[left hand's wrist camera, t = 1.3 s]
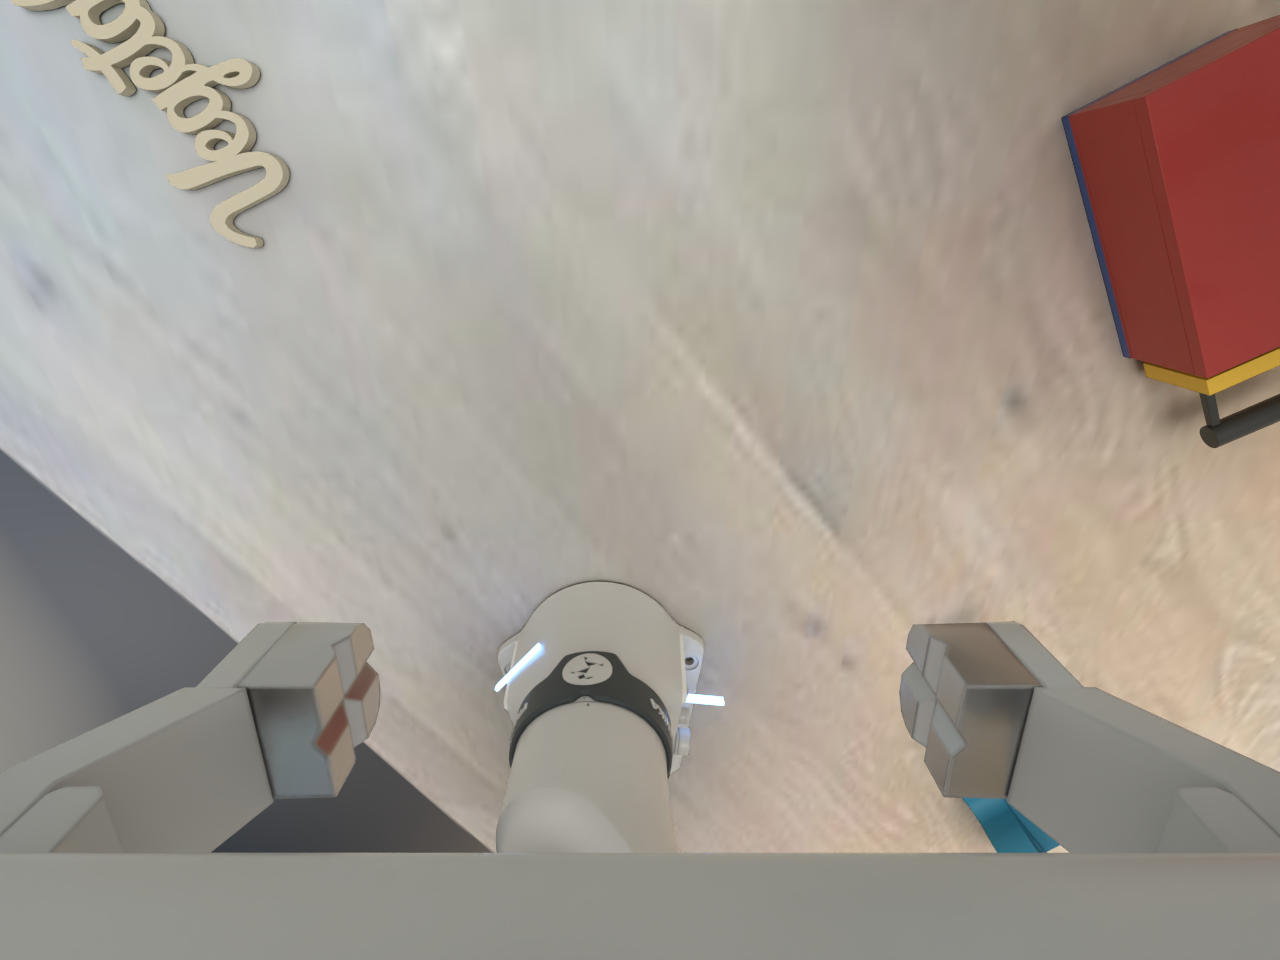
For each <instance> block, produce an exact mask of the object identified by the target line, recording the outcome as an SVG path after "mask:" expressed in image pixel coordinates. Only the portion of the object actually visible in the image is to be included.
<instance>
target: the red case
mask: <svg viewBox="0 0 1280 960" xmlns="http://www.w3.org/2000/svg"><path fill="white" fill-rule="evenodd" d="M1062 121H1063V125H1064V129H1065V133H1066V137H1067V140H1068V144H1069V148H1070V152H1071V156H1072V160H1073V163H1074V167H1075V171H1076V175H1077V179H1078V183H1079V187H1080V190H1081V194H1082V198H1083V202H1084V206H1085V210H1086V213H1087V217H1088V221H1089V225H1090V229H1091V233H1092V237H1093V240H1094V244H1095V248H1096V252H1097V256H1098V260H1099V263H1100V267H1101V271H1102V275H1103V279H1104V283H1105V286H1106V290H1107V294H1108V298H1109V302H1110V306H1111V310H1112V313H1113V317H1114V321H1115V325H1116V329H1117V333H1118V336H1119V340H1120V344H1121V348H1122V352H1123V356H1124V357H1128V358H1134V359H1137V360H1141V361H1144V362H1148V363H1152V364H1156V365H1159V366H1163V367H1167V368H1171V369H1174V370H1178V371H1182V372H1186V373H1189V374H1193V375H1196V376H1200V377H1204V378H1209V377H1211V376H1214V375H1216V374H1218V373H1221V372H1223V371H1225V370H1227V369H1230V368H1232V367H1234V366H1236V365H1239V364H1241V363H1243V362H1246V361H1248V360H1250V359H1252V358H1255V357H1257V356H1259V355H1261V354H1264V353H1266V352H1268V351H1271V350H1273V349H1275V348H1277V347H1280V15H1278V16H1275V17H1272V18H1269V19H1266V20H1263V21H1260V22H1257V23H1254V24H1251V25H1248V26H1245V27H1242V28H1239V29H1235V30H1232V31H1229V32H1226V33H1224V34H1222V35H1221V36H1219V37H1217V38H1215V39H1213V40H1211V41H1209V42H1207V43H1205V44H1203V45H1201V46H1199V47H1197V48H1195V49H1194V50H1192V51H1190V52H1188V53H1186V54H1184V55H1182V56H1180V57H1178V58H1176V59H1174V60H1172V61H1170V62H1168V63H1166V64H1165V65H1163V66H1161V67H1159V68H1157V69H1155V70H1153V71H1151V72H1149V73H1147V74H1145V75H1143V76H1141V77H1139V78H1138V79H1136V80H1134V81H1132V82H1130V83H1128V84H1126V85H1124V86H1122V87H1120V88H1118V89H1116V90H1114V91H1112V92H1110V93H1109V94H1107V95H1105V96H1103V97H1101V98H1099V99H1097V100H1095V101H1093V102H1091V103H1089V104H1087V105H1085V106H1083V107H1081V108H1080V109H1078V110H1076V111H1074V112H1072V113H1070V114H1068V115H1066V116H1064V117H1062Z"/></svg>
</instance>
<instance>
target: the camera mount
mask: <svg viewBox="0 0 1280 960" xmlns="http://www.w3.org/2000/svg"><path fill="white" fill-rule="evenodd" d="M962 799H963V800H964V801H965V802H966V803H967V805H968V806H969V807H970V809H971V810H972V811H973V813H974V814H975V816H976V817H977V819H978V820H979V822H980V824H981V825H982V827H983V829H984V831H985V832H986V834H987V836H988V838H989V839H990V841H991V843H992V845H993V846H994V848H995V850H996V851H997V853H1046V852H1047V851H1049V850H1051V849H1053V848H1055V847H1057V846H1059V845H1060V844H1058V843H1057V842H1056V841H1055V840H1053V839H1052V838H1051V837H1050V836H1048V835H1047V834H1046V833H1045V832H1043V831H1042V830H1041V829H1040V828H1039V827H1037V826H1036V825H1035V824H1034V823H1032V822H1031V821H1030V820H1029V819H1027V818H1026V817H1025V816H1024V815H1022V814H1021V813H1020V812H1019V811H1017V810H1016V809H1015V808H1014V807H1012V806H1011V805H1010V804H1009V803H1007V802H1006V801H1007V799H991V798H962Z"/></svg>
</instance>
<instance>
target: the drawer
mask: <svg viewBox="0 0 1280 960" xmlns="http://www.w3.org/2000/svg"><path fill="white" fill-rule="evenodd" d="M1143 365H1144V369H1145V373H1146V377H1149V378H1152V379H1155V380H1159V381H1162V382H1165V383H1169V384H1172V385H1176V386H1179V387H1182V388H1186V389H1189V390H1192V391H1196V392H1199V393H1200V397H1201V402H1202V406H1203V411H1204V415H1205V419H1206V424H1207V425H1206V426H1204V427H1202V428H1201V429H1200V435H1201V438H1202V440H1203V441H1204V442H1205V443H1206V444H1207V445H1208V446H1210V447H1212V448H1217V447H1219V446H1222V445H1224V444H1227V443H1229V442H1231V441H1234V440H1236V439H1238V438H1241V437H1243V436H1245V435H1248V434H1250V433H1253V432H1255V431H1257V430H1260V429H1262V428H1264V427H1267V426H1269V425H1271V424H1274V423H1276V422H1279V421H1280V394H1278V395H1276V396H1274V397H1271V398H1269V399H1267V400H1264V401H1262V402H1260V403H1257V404H1255V405H1253V406H1250V407H1248V408H1246V409H1243V410H1241V411H1239V412H1236V413H1234V414H1232V415H1229V416H1227V417H1225V418H1222V419H1219V414H1218V409H1217V405H1216V400H1215V396H1214V394H1215V393H1217V392H1219V391H1222V390H1224V389H1226V388H1229V387H1231V386H1233V385H1235V384H1238V383H1240V382H1242V381H1245V380H1247V379H1249V378H1251V377H1254V376H1256V375H1258V374H1261V373H1263V372H1265V371H1268V370H1270V369H1272V368H1274V367H1277V366H1279V365H1280V347H1277V348H1275V349H1273V350H1271V351H1268V352H1266V353H1264V354H1261V355H1259V356H1257V357H1255V358H1252V359H1250V360H1248V361H1246V362H1243V363H1241V364H1239V365H1236V366H1234V367H1232V368H1230V369H1227V370H1225V371H1223V372H1221V373H1218V374H1216V375H1214V376H1211V377H1209V378H1204V377H1200V376H1196V375H1193V374H1189V373H1186V372H1182V371H1178V370H1174V369H1171V368H1167V367H1163V366H1159V365H1156V364H1152V363H1148V362H1145V363H1143Z"/></svg>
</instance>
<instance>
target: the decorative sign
mask: <svg viewBox="0 0 1280 960" xmlns="http://www.w3.org/2000/svg"><path fill="white" fill-rule="evenodd" d="M10 1H11V2H12V3H13V4H15V5H17V6H20V7H23V8H25V9H28V10H32V11H43V10H51V9H55V8H59V7H62V6H65V5H67V4H69V5H67V6H66V9H67V11H68V12H69V13H70V14H71V15H72V16H75V17H78V18H80V21H81V25H82V27H83V29H84V30H85V32H86V33H87V34H88V35H90V36H91V37H93V38H96V39H99V40H102V41H105V42H108V43H118V42H122V41H124V40H126V39H128V38H130V37H131V36H132V37H131V38H130V39H129V40H127V41H125V42H124V43H122V44H120V45H118V46H117V47H115V48H113V49H111V50H110V51H108V52H106V53H104V52H103V51H101V50H100V49H98V48H96V47H94V46H92V45H89V44H86V43H83V42H80V41H77V40H72V42H71V44H72V45H73V46H75V47H77V48H78V49H80V50H81V51H82V52H84V53H85V54H86V55H87V56H88V57H87V58H82V63H83V65H84V67H85V69H86V70H89V71H92V72H96V73H101V74H104V75H105V76H106V78H107V79H108V80H109V82H110V83H111V85H112V86H113V88H114V89H115V91H116V92H117V94H119V95H123V96H127V97H129V96H131V95H132V94H134V92H135V91H136V89H135V87H134V85H133V84H132V82H133V83H134V84H135V85H136V86H138V87H139V88H142V89H145V90H149V91H152V92H157V93H161V94H159V95H158V96H156V97H155V98H154V99H152V101H153V102H154V103H155V104H156V105H157V107H158V108H159V109H160V110H163V111H167V116H168V119H169V122H170V124H171V125H172V126H173V127H174V128H175V129H176V130H178V131H180V132H183V133H188V134H198V135H197V136H196V139H195V149H196V152H197V154H198V155H199V156H200V157H201V158H203V159H206V160H209V161H215V162H212V163H209V164H205V165H202V166H198V167H195V168H192V169H189V170H186V171H183V172H180V173H176V174H167V178H168V180H169V182H170V183H171V184H172V185H173V186H174V187H176V188H178V189H184V190H197V189H200V188H203V187H206V186H208V185H211V184H213V183H216V182H218V181H220V180H223V179H225V178H228V177H231V176H234V175H237V174H240V173H243V172H247V171H251V170H254V169H258V168H262V167H264V168H265V169H266V176H265V178H264V179H263V180H261V181H260V182H259V183H257V184H256V185H254V186H253V187H251V188H249V189H247V190H245V191H243V192H241V193H239V194H237V195H235V196H233V197H231V198H229V199H227V200H226V201H224V202H222V203H220V204H219V205H217V206H216V207H215V208H214V210H213V211H212V213H211V223H212V226H213V227H214V229H215V230H216V231H217V232H219V233H220V234H221V235H222V236H224V237H225V238H227V239H229V240H230V241H232V242H234V243H237V244H239V245H242V246H246V247H251V248H257V247H262V246H263V240H262V239H261V238H259V237H256V236H252V235H249V234H246V233H243V232H241V231H239V230H238V229H237V228H236V227H235V226H234V224H233V220H234V218H235V217H236V216H237V215H238V214H239V213H241V212H243V211H245V210H247V209H249V208H251V207H253V206H255V205H257V204H259V203H261V202H263V201H265V200H266V199H268V198H270V197H272V196H274V195H276V194H277V193H279V192H280V191H281V190H283V189H284V187H285V186H286V185H287V183H288V180H289V169H288V167H287V165H286V164H285V162H284V161H283V160H282V159H281V158H279V157H278V156H276V155H273V154H269V153H264V152H249V151H250V150H251V148H252V147H253V145H254V143H255V141H256V131H255V129H254V126H253V125H252V123H251V122H250V121H249V120H248V119H247V118H246V117H244V116H242V115H240V114H237V113H233V112H230V109H231V103H230V100H229V98H228V97H227V96H226V95H225V94H224V93H223V92H221V91H220V90H217V89H214V88H212V87H214V86H215V85H217V84H223V85H226V86H229V87H232V88H236V89H246V88H249V87H252V86H253V85H255V84H256V83H257V81H258V80H259V77H260V70H259V68H258V67H257V66H256V65H255V64H253V63H251V62H248V61H246V60H243V59H239V58H236V59H231V60H228V61H225V62H222V63H219V64H216V65H214V66H211V67H209V68H208V67H206V66H203V65H200V64H194V60H193V58H192V55H191V53H190V52H189V50H188V49H187V48H186V47H185V46H184V45H183V44H181V43H179V42H177V41H174V40H172V39H169V38H166V37H163V36H164V33H165V27H164V24H163V22H162V20H161V19H160V17H159V16H158V15H157V14H156V13H154V12H152V11H151V9H150V7H149V4H148V3H147V1H146V0H10ZM70 3H71V4H70ZM119 3H125V9H124V11H123V13H122V14H121V15H120V16H119V17H118V18H117V19H116V20H114V21H112V22H110V23H107V24H104V25H102V24H101V22H100V20H99V16H100V14H101V13H102V12H103V11H105V10H106V9H108V8H110V7H112V6H113V5H116V4H119ZM155 48H168V49H169V50H170V51H171V53H172V62H171V63H170V62H168V61H165V60H162V59H159V58H156V57H144V56H146V55H147V54H149V53H150V52H151V51H152V50H154V49H155ZM130 64H131V65H130ZM128 65H130V77H131V80H132V82H131V81H130V79H129V78H128V76H127V75H126V74H125V73H124V71H123V70H122V69H121V68H123V67H126V66H128ZM157 68H162V69H163V70H164V72H163V73H161V74H160V75H157V76H155V77H152V78H150V77H149V75H150V73H151V72H152V71H153V70H155V69H157ZM235 76H236V77H235ZM202 98H209V99H210V102H209V105H208V106H207V108H206V109H205V110H204V111H202V112H201V113H200V114H198V115H196V116H194V117H191V118H186V117H185V116H184V114H183V110H184V108H185V107H186V106H187V105H189V104H190V103H192V102H194V101H196V100H198V99H202ZM223 120H230V121H232V122H233V123H235V125H236V135H234V134H232V133H229V132H225V131H220V130H210V129H212V128H214V127H216V126H217V125H218V124H220V123H221V122H222V121H223ZM221 140H225V141H227V142H228V145H227V146H226V147H224V148H221V149H219V150H215V149H214V145H215V144H216V143H217V142H219V141H221Z"/></svg>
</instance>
